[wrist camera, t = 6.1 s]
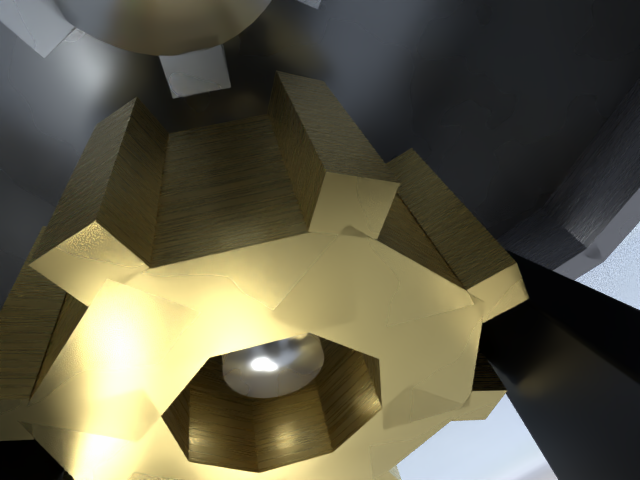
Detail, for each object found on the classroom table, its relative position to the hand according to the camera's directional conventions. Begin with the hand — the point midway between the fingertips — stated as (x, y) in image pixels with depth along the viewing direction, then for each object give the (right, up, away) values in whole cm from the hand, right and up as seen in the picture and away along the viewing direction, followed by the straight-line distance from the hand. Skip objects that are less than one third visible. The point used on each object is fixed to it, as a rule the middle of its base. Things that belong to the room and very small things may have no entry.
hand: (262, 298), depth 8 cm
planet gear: (0, +1, +1) cm, 1 cm away
